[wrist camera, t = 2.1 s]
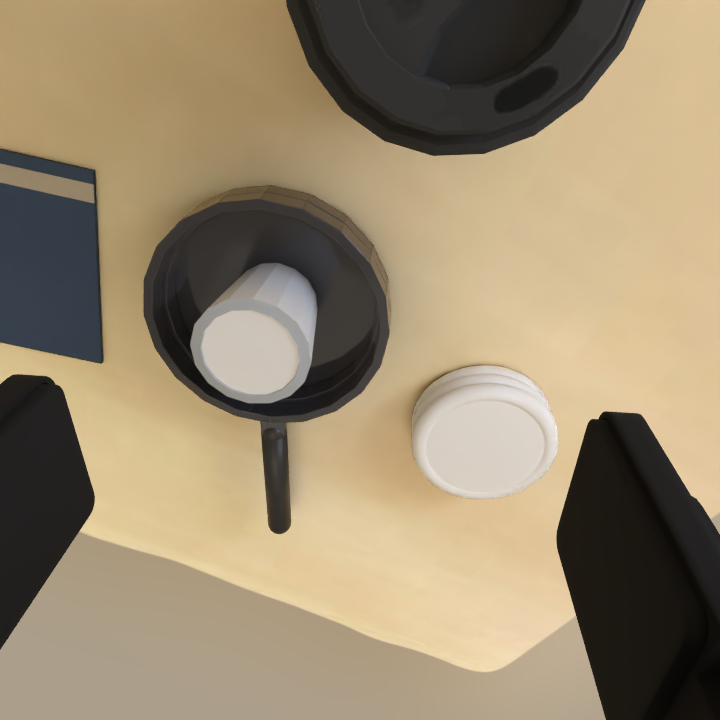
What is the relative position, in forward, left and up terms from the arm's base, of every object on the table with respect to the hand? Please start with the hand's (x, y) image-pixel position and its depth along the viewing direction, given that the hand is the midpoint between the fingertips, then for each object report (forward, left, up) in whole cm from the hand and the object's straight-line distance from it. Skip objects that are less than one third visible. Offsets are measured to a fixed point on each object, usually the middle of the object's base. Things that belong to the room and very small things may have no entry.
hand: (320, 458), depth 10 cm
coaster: (+11, -16, -26) cm, 33 cm away
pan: (-5, -10, -26) cm, 28 cm away
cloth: (-24, -11, -26) cm, 37 cm away
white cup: (-5, -10, -26) cm, 28 cm away
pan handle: (-3, -23, -24) cm, 33 cm away
